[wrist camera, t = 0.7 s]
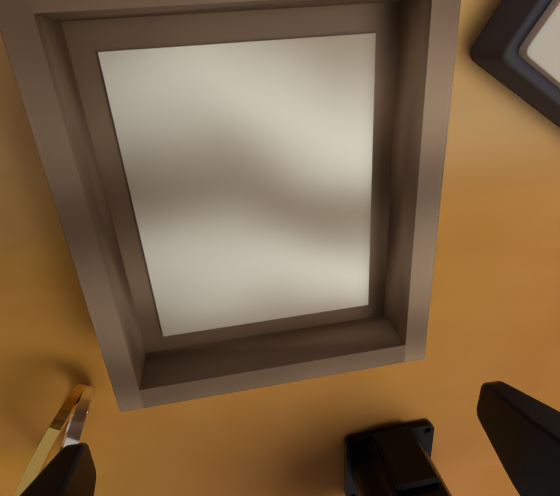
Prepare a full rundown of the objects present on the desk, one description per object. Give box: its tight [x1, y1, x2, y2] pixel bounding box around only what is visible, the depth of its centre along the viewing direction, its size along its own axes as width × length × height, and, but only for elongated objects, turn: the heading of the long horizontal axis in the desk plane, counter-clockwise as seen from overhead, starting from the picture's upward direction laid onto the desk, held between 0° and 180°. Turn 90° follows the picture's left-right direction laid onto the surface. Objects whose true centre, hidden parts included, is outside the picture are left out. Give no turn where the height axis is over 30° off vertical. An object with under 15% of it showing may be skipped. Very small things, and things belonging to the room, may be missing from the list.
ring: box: [14, 383, 95, 496], centre depth 20 cm, size 7×3×8 cm, turn 155°
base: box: [0, 0, 461, 412], centre depth 18 cm, size 16×14×6 cm
